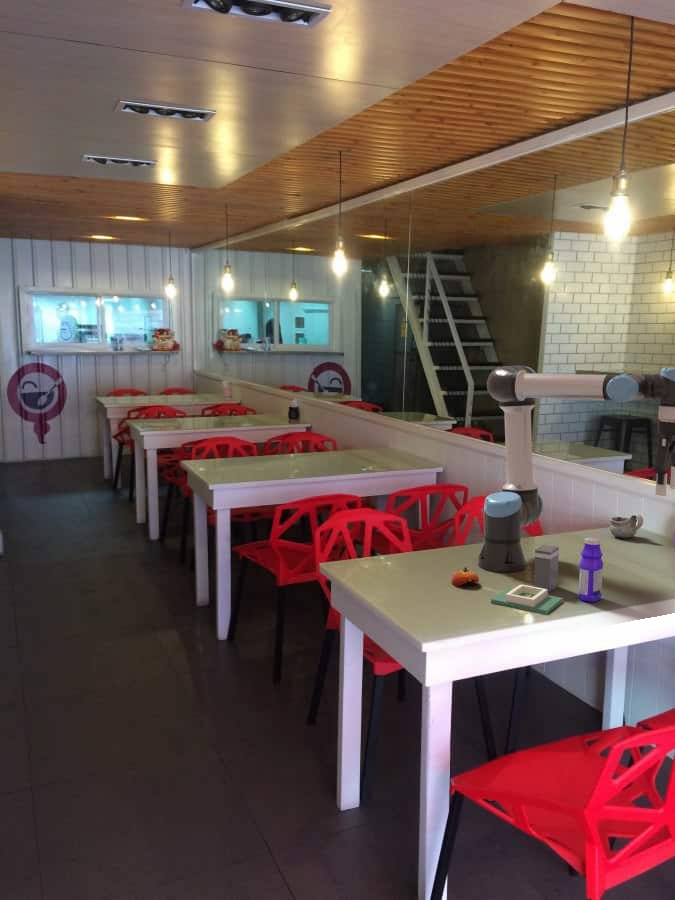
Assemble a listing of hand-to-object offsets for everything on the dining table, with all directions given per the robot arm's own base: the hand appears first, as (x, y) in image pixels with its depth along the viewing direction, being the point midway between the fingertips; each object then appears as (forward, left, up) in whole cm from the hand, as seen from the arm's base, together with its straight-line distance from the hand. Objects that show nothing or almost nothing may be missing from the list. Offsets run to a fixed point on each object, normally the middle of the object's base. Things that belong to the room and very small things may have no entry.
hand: (668, 492), depth 216 cm
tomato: (-48, -36, -28) cm, 66 cm away
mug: (-23, +47, -28) cm, 60 cm away
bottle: (-13, -28, -28) cm, 42 cm away
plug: (-27, -26, -28) cm, 46 cm away
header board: (-27, -41, -27) cm, 56 cm away
